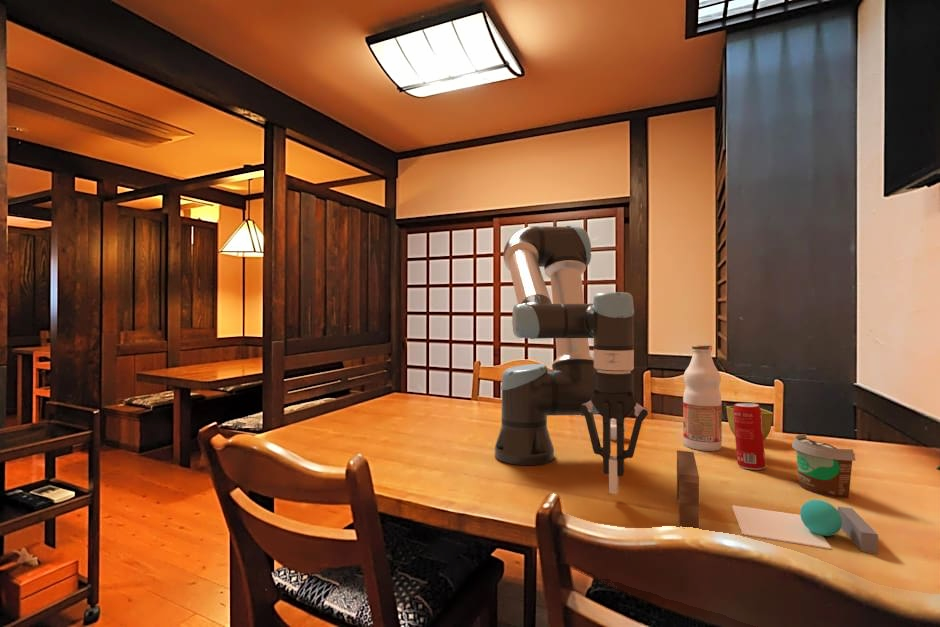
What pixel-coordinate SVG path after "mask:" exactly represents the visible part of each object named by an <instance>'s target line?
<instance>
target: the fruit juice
mask: <svg viewBox="0 0 940 627" xmlns="http://www.w3.org/2000/svg"><path fill="white" fill-rule="evenodd" d="M691 350H692V357H691V360H690V362H689V365H688V366H687V368H686V369H685V371H684V373H683V380H684V384H685V388H684V392H683V396H682V404H683V405H682V406H683V407H682V408H683V411H682V412H683V414H682V416H683V419H682V420H683V421H682V422H683V428H682V430H683V434H682V435H683V444H684V446H686V447H687V448H689V449H693V450H697V451H704V452H716V450H717V451H719V450H721V448H722V441H723V440H722V438H723V437H722V436H723V433H722V431H723V429H722V426H723V425H722V422H723V420H722V417H723V416H722V414H723V412H722V408H723V406H722V395H721V392H720V385H721V380H722V378H721V373H720V372H719V370H718V369H717V367H716V365H715V363H714V360H713V357H712V351H713V346H712V345H711V344H693V345H692V347H691Z"/></svg>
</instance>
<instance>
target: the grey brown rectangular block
mask: <svg viewBox="0 0 940 627" xmlns="http://www.w3.org/2000/svg"><path fill="white" fill-rule="evenodd" d="M699 474H700V473H699V470H698V466H697V462H696V457H695V453H694V451H686V450H677V449H676V500H677V501H678V503H679V504H678V508H679V509H678V512H679V514H678V516H679V517H678V519H679V520H678V525H679V527H680V526H682V527H693V528H699V529H700V475H699Z"/></svg>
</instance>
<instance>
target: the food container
mask: <svg viewBox="0 0 940 627" xmlns="http://www.w3.org/2000/svg"><path fill="white" fill-rule="evenodd" d="M791 447H792V449H794V450H795V452H796V453H795V454H796V455H795V456H796V465H797V472H798V473H797V475H798V484H799V486H800V487H801V488H802V489H804V490H805V491H807V492H810V493H813V494H816V495H820V496H825V497H829V498H835V499H836V498H837V499H849V497H850V488H851V478H852V468H853V461H856V456H855V452H854V449H852V448H851V449H850V448H837V447H835V446H833V445H831V444H829V443H825V442H819V441H815V440H813V439H809V438H807V434H806V433H805V434H804V433H802V434H797V435H795V437H794V438H793V441H792V445H791Z"/></svg>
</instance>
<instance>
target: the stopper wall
mask: <svg viewBox="0 0 940 627" xmlns="http://www.w3.org/2000/svg"><path fill="white" fill-rule="evenodd" d="M837 510H838V512H839V513H840V515H841V518H842V526H841V529H842V530H843V531H844V533H845V534H846V535H847V537H848V538H849V539H850V540H851V541H852V542H853V543H854V545H855V546H856V547H857V549H859V551H861V552H864V553H868V552H869V554H874V553H875V555H878V554H879V545H878V543H879V541H878V540H879V538H878V537H879V536H878V535H879V534H878V533H877V532H876V531H875V530H874V529H873V528H872V527H871V526H870V525H869V524H868V522H866V521H865V520H864V518H862V517H861V515H860V514H858V512H856V511H855V510H854V509H853V507H846V506H845V507H844V506H837Z"/></svg>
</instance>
